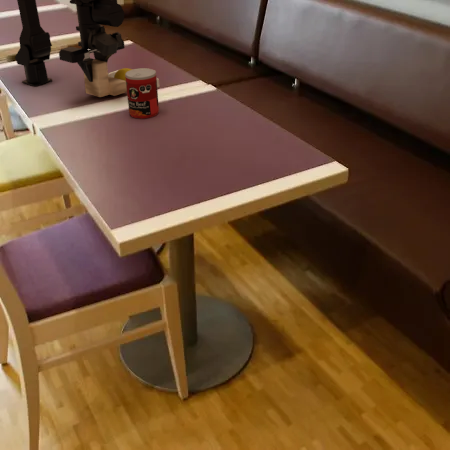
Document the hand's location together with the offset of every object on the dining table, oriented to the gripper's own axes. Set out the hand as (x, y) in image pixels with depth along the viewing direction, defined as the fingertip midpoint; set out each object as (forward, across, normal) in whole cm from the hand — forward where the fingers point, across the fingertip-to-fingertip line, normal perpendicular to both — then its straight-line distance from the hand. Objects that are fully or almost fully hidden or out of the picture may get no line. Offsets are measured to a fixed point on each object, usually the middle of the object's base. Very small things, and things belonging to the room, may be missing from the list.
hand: (96, 79), depth 171 cm
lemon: (+2, +6, 0) cm, 7 cm away
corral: (+5, +10, 0) cm, 11 cm away
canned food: (+5, -2, -20) cm, 20 cm away
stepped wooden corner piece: (+4, +2, 0) cm, 5 cm away
